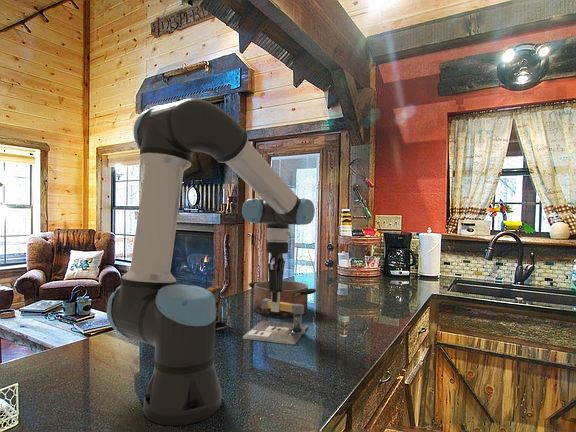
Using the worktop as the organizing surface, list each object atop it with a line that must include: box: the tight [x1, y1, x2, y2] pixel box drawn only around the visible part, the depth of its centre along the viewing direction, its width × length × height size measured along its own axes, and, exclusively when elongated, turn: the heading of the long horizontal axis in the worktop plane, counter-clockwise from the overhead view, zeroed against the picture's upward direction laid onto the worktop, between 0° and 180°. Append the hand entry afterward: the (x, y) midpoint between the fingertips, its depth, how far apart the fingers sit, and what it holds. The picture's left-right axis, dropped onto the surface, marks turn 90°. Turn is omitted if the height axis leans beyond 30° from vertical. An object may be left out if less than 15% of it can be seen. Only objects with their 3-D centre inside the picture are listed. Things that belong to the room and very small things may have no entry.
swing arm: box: [261, 298, 304, 315], centre depth 122 cm, size 16×4×3 cm, turn 60°
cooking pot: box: [248, 280, 317, 318], centre depth 151 cm, size 30×22×11 cm
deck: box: [242, 314, 308, 346], centre depth 121 cm, size 19×18×7 cm
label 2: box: [265, 326, 289, 334], centre depth 121 cm, size 5×7×1 cm
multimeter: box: [205, 267, 232, 331], centre depth 128 cm, size 15×10×20 cm
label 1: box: [247, 330, 273, 338], centre depth 116 cm, size 5×7×1 cm
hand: (275, 311), depth 121 cm, fingers closed
